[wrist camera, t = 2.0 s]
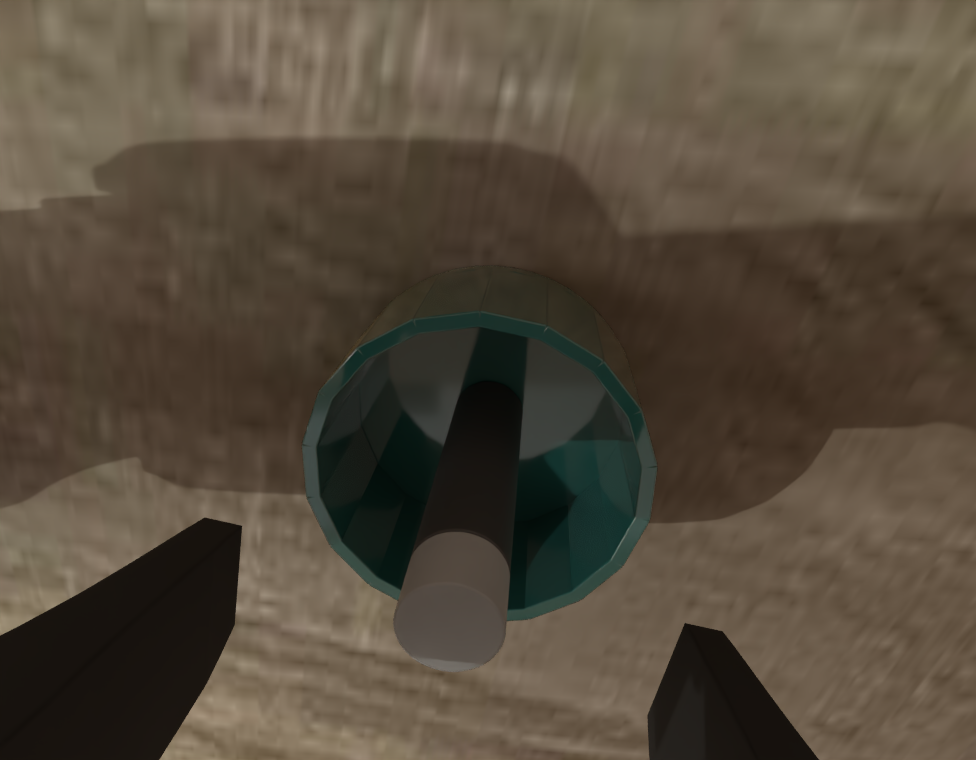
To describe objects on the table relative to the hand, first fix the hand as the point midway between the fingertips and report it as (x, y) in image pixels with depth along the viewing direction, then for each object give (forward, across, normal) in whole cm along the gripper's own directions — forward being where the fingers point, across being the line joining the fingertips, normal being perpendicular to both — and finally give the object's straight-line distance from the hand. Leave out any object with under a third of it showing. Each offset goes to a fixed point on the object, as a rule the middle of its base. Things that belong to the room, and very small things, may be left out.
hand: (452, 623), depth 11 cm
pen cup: (+8, 0, 0) cm, 9 cm away
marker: (+8, 0, 0) cm, 8 cm away
